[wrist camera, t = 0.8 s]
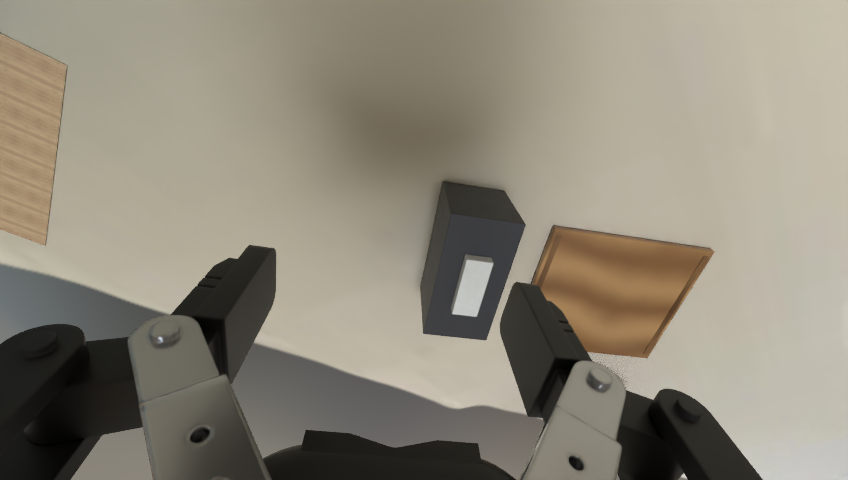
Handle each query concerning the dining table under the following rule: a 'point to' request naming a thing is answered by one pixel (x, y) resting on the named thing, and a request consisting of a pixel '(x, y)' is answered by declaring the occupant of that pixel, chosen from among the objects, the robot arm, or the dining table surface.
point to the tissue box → (468, 260)
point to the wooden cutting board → (617, 286)
